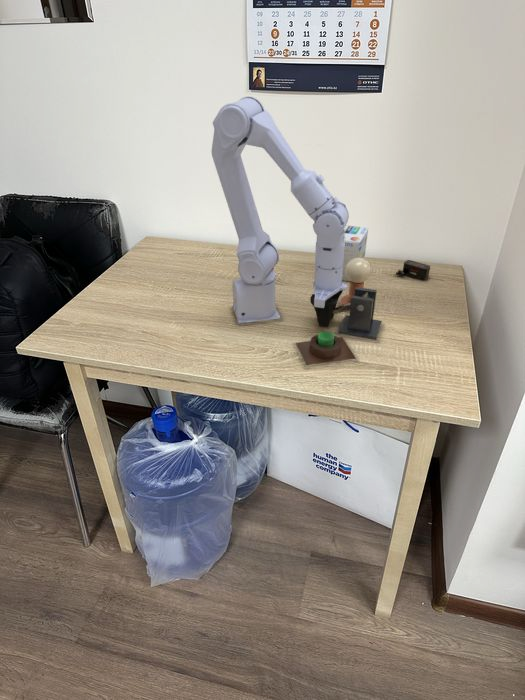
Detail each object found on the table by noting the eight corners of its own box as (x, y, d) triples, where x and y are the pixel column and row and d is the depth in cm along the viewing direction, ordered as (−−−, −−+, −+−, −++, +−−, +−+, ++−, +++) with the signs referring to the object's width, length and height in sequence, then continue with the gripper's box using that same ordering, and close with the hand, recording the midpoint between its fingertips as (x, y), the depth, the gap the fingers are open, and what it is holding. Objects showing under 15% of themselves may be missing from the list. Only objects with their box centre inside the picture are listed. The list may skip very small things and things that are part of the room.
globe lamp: (345, 315, 117) (350, 266, 110) (336, 302, 122) (340, 254, 115) (372, 312, 118) (378, 263, 111) (362, 299, 123) (367, 251, 116)
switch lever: (322, 325, 112) (316, 313, 111) (326, 318, 114) (320, 306, 113) (371, 308, 106) (365, 296, 105) (373, 302, 108) (367, 289, 107)
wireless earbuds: (403, 270, 136) (405, 258, 134) (429, 277, 132) (431, 265, 130) (395, 276, 133) (396, 264, 131) (421, 284, 129) (423, 272, 127)
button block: (306, 367, 100) (307, 356, 99) (295, 345, 106) (296, 334, 105) (355, 360, 102) (356, 349, 100) (341, 339, 108) (342, 328, 107)
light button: (320, 348, 101) (320, 341, 100) (315, 340, 104) (315, 332, 103) (335, 346, 102) (336, 339, 101) (330, 338, 104) (331, 330, 103)
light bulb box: (340, 262, 140) (343, 224, 134) (364, 266, 138) (369, 227, 132) (329, 278, 132) (332, 238, 126) (355, 282, 130) (359, 242, 124)
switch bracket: (338, 335, 110) (341, 298, 105) (345, 319, 115) (348, 283, 110) (376, 341, 107) (381, 304, 102) (381, 325, 113) (386, 289, 108)
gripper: (340, 281, 99) (336, 341, 106) (355, 252, 110) (350, 309, 117) (304, 276, 101) (302, 336, 108) (323, 249, 112) (320, 304, 119)
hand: (325, 321), depth 113 cm, fingers closed on switch lever, 3 cm apart
